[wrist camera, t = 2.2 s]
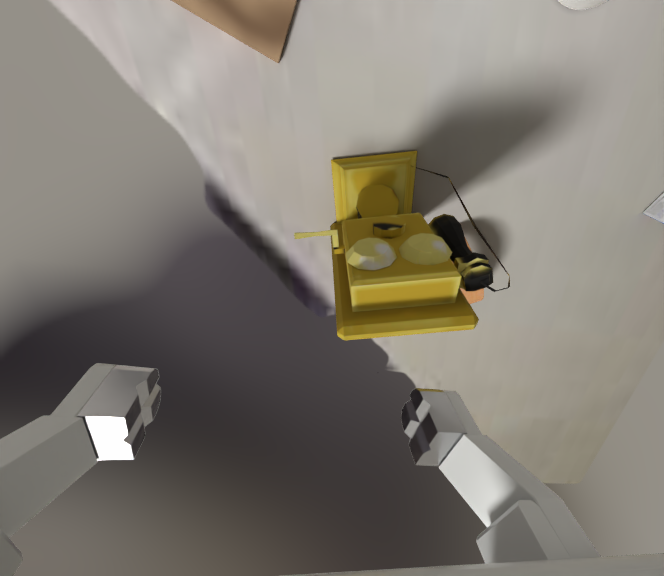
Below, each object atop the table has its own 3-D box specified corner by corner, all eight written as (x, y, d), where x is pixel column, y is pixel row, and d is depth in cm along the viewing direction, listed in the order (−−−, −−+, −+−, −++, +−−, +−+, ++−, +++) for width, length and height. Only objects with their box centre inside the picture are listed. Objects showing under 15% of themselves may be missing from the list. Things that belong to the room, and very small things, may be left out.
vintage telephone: (470, 144, 50) (603, 219, 26) (455, 217, 58) (545, 322, 35) (293, 163, 51) (271, 252, 27) (305, 232, 59) (295, 344, 36)
